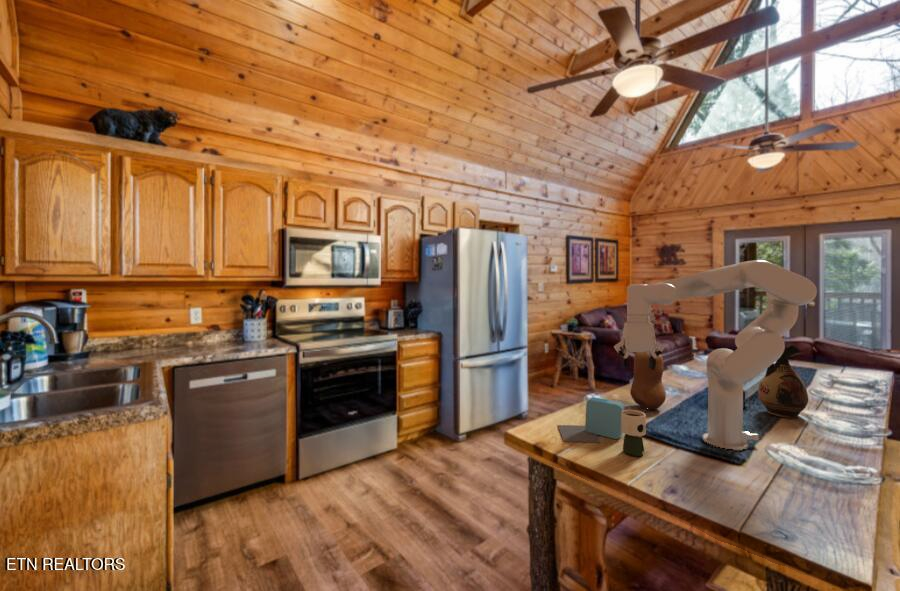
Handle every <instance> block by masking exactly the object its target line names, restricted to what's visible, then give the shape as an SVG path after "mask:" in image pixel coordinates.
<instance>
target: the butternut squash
mask: <svg viewBox="0 0 900 591" xmlns="http://www.w3.org/2000/svg"><path fill="white" fill-rule="evenodd" d="M655 351H656V350H655ZM655 351H654V352H655ZM649 358H650V354H649V353H648V352H634V357H633V359H634V360H633V379H632V383H631V387H630V392H629V393H630V396H631V398H632V400H633V401H634V403H635V404H636V405H638V406H640V407H642V408H643V407H644V408H648V409H652V410H656V409H659V408H660V407H662V405H663V404H664V403H665V401H666V400H667V399H666V397H667V396H666V395H667V392H666V389H665V386H664V384H663V381H662V379H663V378H662V377H663V373H664V359H663V356H662V353H661V354H660V355H659V356H658V357H657V358H656V367H655V370H652V369H650V368H649ZM644 408H643V409H644ZM648 409H647V410H648Z"/></svg>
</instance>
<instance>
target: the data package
mask: <svg viewBox="0 0 900 591" xmlns="http://www.w3.org/2000/svg"><path fill="white" fill-rule="evenodd" d="M623 410H625V405H624V403H623V402H621V401H618V400H617V401H616V400H610V399H606V398H601V397H594V396H592V397H590V398H589V399H588V400H586V403H585V424H584V426H585V429H586V431H587V432H589V433H593V434H596V436H602V437H607V438H610V439H615V440H618V439H620V438H621V436H622V435H623V434H624V433H623V432H622V430H621V412H622V411H623Z"/></svg>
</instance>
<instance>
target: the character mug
mask: <svg viewBox="0 0 900 591" xmlns="http://www.w3.org/2000/svg"><path fill="white" fill-rule="evenodd" d="M646 418H647V415H646V413H645V412H642V411H641V410H636V409H624V410H623V411H622V412H621V430H622V432H623V434H624V437H623V444H622V451H623V452H624V453H626V454H629V455H631V456H634V457H641V456H643V454H644V453H645V446H644V441H643V436H645V435H646V434H647V428H646V425H647V419H646Z"/></svg>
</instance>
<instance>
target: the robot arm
mask: <svg viewBox="0 0 900 591" xmlns="http://www.w3.org/2000/svg"><path fill="white" fill-rule="evenodd" d="M747 288H757V289H759V290H761V291H763V292H765V293H766V298H767V304H766V308H765V309H764V311H763V312H762V313H761V314H760V315H758V317H756V318H755V319H754V320H753V321H752V322H750V323H749V324H748V325H747V326H745V327H744V328H743V329H741V330H740V331H739V332H738V334H736V335H735V336H736V337H735V340H734V343H735V346H736V347H737V348H736V349H735V350H733V349H729V348H724V347H721V348H716V349H714V350H711V352H710V353H709V354H708V356H707V358H706V372H707V383H708V386H707V388H708V391H707V392H708V394H707V396H708V398H707V399H708V401H707V407H708V408H707V414H708V415H707V432H706V433H704V434H702V441H704V443H706V442H707V443H706V444H708V443H709V444H708V445H710V444H711V445H710V446H712V445H713V446H712V447H715V446H716V448H718V447H720V448H719V449H722V448H725V449H724V450H727V449H733V450H732V451H744V450H743V449H745V450H747V449H748V448H749V443H748V441H750V440H752V441H759V439H760V435H759V434H758V433H750V432H749V431H744V430H743V426H744V422H743V421H744V417H743V416H744V413H743V412H744V409H743V408H744V384H747V383H749V382H751V381H752V380H755V378H757V377H758V376H759V375H760V374H762V373H763V372H764V371H766V370H767V368H768V367H769V366H770V365H772V364H775V363H776V361H777V360H778V359H779V358H780V357H781V355H782V354H783V352H784V348H785V347H786V344H785V340H784V338H783V336H784V335H786V333H788V332H789V331H790V330H791V329H792V328H793V327H794V325H795V324H796V322H797V321H798V318H799V306H804V305H808V304H810V303H812V302H813V301H814V300H815V298H816V296H817V295H818V294H817V293H818V289H817V286H816V285H815V283H814V282H813V281H812V280H810V279H809V278H807V277H805V276H803V275H801V274H799V273H796V272H793V271H791V270H789V269H786V268H785V267H782V266H780V265H777V264H775V263H772V262H770V261H768V260H762V259H755V260H747V261H741V262H737V263H734V264H729V265H724V266H721V267H717V268H711V269H709V270H703V271H700V272H695V273H693V274H689V275H684V276H681V277H677V278H671V279H668V280H664V281H659V282H656V283H653V284H647V283H632V284H628V286H627V287H626V308H627V309H626V322H624V323H623V324H624V326H623V330H622V337H621V338H622V339H621V341H619V342H618V343H616V344H615V345H614V346H613V348H614V349H615V351H616V352H617V353H618V354H619V355H620V356H621V357H622V367H623V368H624V369H625V370H626V371H629V370H630V359H629V355H630V354H631V353H636V352H648V353H649V354H650V358H649V368H650V369H652V370H655V367H656V358H657V357H658V356H659V355H660V354H661V355H662V352H663V351H664V349H665V348H666V347H665V345H663V344H662V343H660V342H659V341H657V339H656V333H655V328H654V323H652V322H653V320H656V316H655V315H652V305H660V306H669V305H672V304H674V303H675V302H676V301H677V300H681V299H686V298H692V297H693V298H694V297H696V298H697V297H710V296H711V297H712V296H717V295H721V294H725V293H729V292H735V291H741V290H743V289H747ZM621 348H622V349H621ZM656 348H657V350H656ZM622 350H624V351H622ZM654 351H655V352H654Z"/></svg>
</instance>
